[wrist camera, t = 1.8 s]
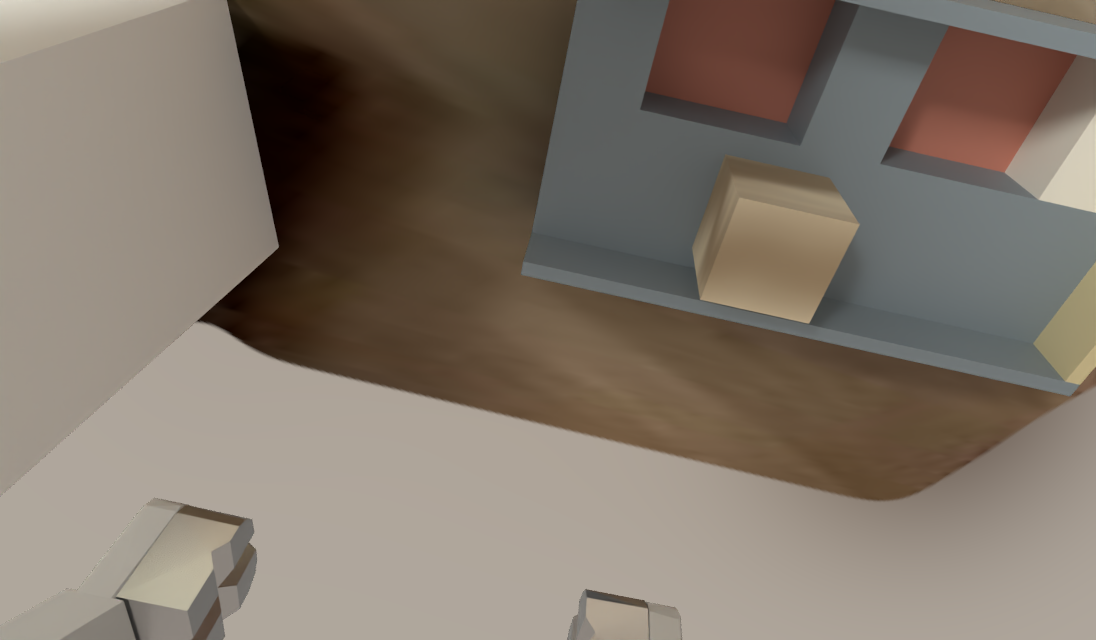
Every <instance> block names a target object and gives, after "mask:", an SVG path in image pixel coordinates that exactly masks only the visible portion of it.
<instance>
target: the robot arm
mask: <svg viewBox="0 0 1096 640" xmlns="http://www.w3.org/2000/svg"><path fill="white" fill-rule="evenodd" d="M253 534H254V528H253V522H252V519H248V518H244V517H239V516H235V515H230V514H225V513H221V512H216V511H212V510H207V509H202V508H197V507H193V506H190V505H187V504H182V503H176V502H172V501H167V500H162V499H158V498H154V499H153V500H151V501H150V502H148V503H147V504H146V505H144V506H143V507H142V508H141V509H140V511H139V512H138V513H137V514H136V516H135V517H134V518H133V519H132V521H131V522H130V523H129V525H128V526H127V527H126V528H125V530H124V531H123V533H122V534H121V535H120V536H119V537H118V539H117V540H116V541H115V542H114V544H113V545H112V546H111V547H110V549H109V550H108V551H107V553H106V554H105V555H104V557H103V558H102V559H101V560H100V561H99V563H98V564H97V565H96V567H95V568H94V569H93V570H92V572H91V573H90V574H89V576H88V577H87V578H86V579H85V581H84V582H83V583H82V584H81V586H80V587H79V588H78V589H77V590H74V589H65V590H63V591H62V592H60V593H58V594H56V595H54V596H53V597H51V598H49V599H47V600H45V601H43V602H42V603H40V604H38V605H36V606H34V607H33V608H31V609H29V610H27V611H25V612H24V613H22V614H20V615H18V616H16V617H14V618H13V619H11V620H9V621H7V622H5V623H4V624H2V625H0V640H223V639H224V637H225V632H224V626H223V620H224V619H225V618H227V617H228V616H230V615H231V614H233V613H234V612H236V611H237V610H239V609H240V607H241V605H242V603H243V601H244V599H245V598H246V596H247V594H248V592H249V589H250V586H251V583H252V581H253V578H254V575H255V571H256V564H257V554H256V549H255V548H254V547H253V546H252V545H251V544H250V543H249V541H250V539H251V538H252V536H253ZM567 640H682V633H681V617H680V614H679V612H678V610H677V609H676V608H675V607H670V606H665V605H659V604H654V603H649V602H645V601H644V600H639V599H633V598H628V597H623V596H618V595H613V594H608V593H602V592H597V591H592V590H587V589H585V590H584V591H583V593H582V596H581V599H580V601H579V612H578V615H576V616H574V617H573V620H572V623H571V626H570V629H569V633H568V638H567Z"/></svg>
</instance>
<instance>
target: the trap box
mask: <svg viewBox="0 0 1096 640" xmlns="http://www.w3.org/2000/svg"><path fill="white" fill-rule="evenodd" d="M725 154H726V155H730V156H735V157H739V158H744V159H748V160H753V161H757V162H761V163H766V164H770V165H775V166H779V167H784V168H788V169H792V170H797V171H801V172H806V173H810V174H815V175H819V176H824V177H828V178H830V179H831V181H832V182H833V184H834V185H835V187H836V188H837V190H838V192H839V193H840V195H841V196H842V198H843V199H844V201H845V202H846V204H847V206H848V207H849V209H850V210H851V212H852V213H853V215H854V216H855V218H856V219H857V221H858V223H859V224H860V225H859V227H858V229H857V231H856V233H855V235H854V237H853V239H852V241H851V243H850V245H849V247H848V249H847V251H846V252H845V254H844V256H843V258H842V260H841V262H840V264H839V266H838V268H837V270H836V272H835V274H834V276H833V278H832V280H831V282H830V284H829V286H828V288H827V290H826V292H825V294H824V296H823V297H822V299H821V301H820V303H819V305H818V307H817V309H816V311H815V313H814V315H813V317H812V319H811V321H810V323H809V324H808V323H803V322H799V321H794V320H790V319H785V318H781V317H776V316H772V315H767V314H763V313H758V312H754V311H749V310H745V309H740V308H735V307H731V306H726V305H722V304H717V303H713V302H708V301H704V300H700V296H699V290H698V283H697V277H696V270H695V264H694V257H693V251H692V246H693V243H694V241H695V238H696V235H697V232H698V229H699V227H700V224H701V221H702V218H703V215H704V213H705V210H706V207H707V204H708V201H709V199H710V196H711V193H712V190H713V187H714V185H715V182H716V179H717V176H718V173H719V171H720V168H721V165H722V162H723V159H724V157H725ZM521 275H524V276H529V277H533V278H538V279H542V280H547V281H551V282H556V283H560V284H565V285H569V286H574V287H578V288H583V289H587V290H592V291H597V292H601V293H606V294H610V295H615V296H619V297H624V298H628V299H633V300H637V301H642V302H646V303H651V304H655V305H660V306H664V307H669V308H673V309H678V310H682V311H687V312H691V313H696V314H701V315H705V316H710V317H714V318H719V319H723V320H728V321H732V322H737V323H741V324H746V325H750V326H755V327H759V328H764V329H768V330H773V331H777V332H782V333H786V334H791V335H795V336H800V337H805V338H809V339H814V340H818V341H823V342H827V343H832V344H836V345H841V346H845V347H850V348H854V349H859V350H863V351H868V352H872V353H877V354H881V355H886V356H890V357H895V358H899V359H904V360H909V361H913V362H918V363H922V364H927V365H931V366H936V367H940V368H945V369H949V370H954V371H958V372H963V373H967V374H972V375H976V376H981V377H985V378H990V379H994V380H999V381H1003V382H1008V383H1013V384H1017V385H1022V386H1026V387H1031V388H1035V389H1040V390H1044V391H1049V392H1053V393H1058V394H1062V395H1067V396H1071V395H1072V394H1073V393H1074V391H1075V390H1076V389H1077V388H1078V387H1079V385H1080V384H1081V383H1082V382H1083V381H1084V380H1085V378H1086V377H1087V376H1088V375H1089V374H1090V373H1091V371H1092V370H1093V369H1094V368H1095V367H1096V24H1092V23H1087V22H1083V21H1079V20H1074V19H1070V18H1066V17H1061V16H1057V15H1053V14H1048V13H1044V12H1040V11H1035V10H1031V9H1027V8H1022V7H1018V6H1014V5H1009V4H1005V3H1001V2H996V1H992V0H577V4H576V9H575V14H574V20H573V25H572V30H571V35H570V40H569V45H568V50H567V55H566V60H565V65H564V71H563V76H562V81H561V86H560V91H559V96H558V101H557V106H556V111H555V116H554V122H553V127H552V132H551V137H550V142H549V147H548V152H547V157H546V162H545V167H544V173H543V178H542V183H541V188H540V193H539V198H538V203H537V208H536V213H535V218H534V224H533V229H532V233H531V237H530V240H529V244H528V247H527V251H526V254H525V257H524V261H523V266H522V271H521Z"/></svg>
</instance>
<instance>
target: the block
mask: <svg viewBox="0 0 1096 640" xmlns="http://www.w3.org/2000/svg"><path fill="white" fill-rule="evenodd" d="M859 225H860V224H859V223H858V221H857V219H856V218H855V216H854V215H853V213H852V212H851V210H850V209H849V207H848V206H847V204H846V202H845V201H844V199H843V198H842V196H841V195H840V193H839V192H838V190H837V188H836V187H835V185H834V184H833V182H832V181H831V179H830V178H828V177H824V176H819V175H815V174H810V173H806V172H801V171H797V170H792V169H788V168H784V167H779V166H775V165H770V164H766V163H761V162H757V161H753V160H748V159H744V158H739V157H735V156H730V155H726V154H725V157H724V159H723V162H722V165H721V168H720V171H719V173H718V176H717V179H716V182H715V185H714V187H713V190H712V193H711V196H710V199H709V201H708V204H707V207H706V210H705V213H704V215H703V218H702V221H701V224H700V227H699V229H698V232H697V235H696V238H695V241H694V243H693V246H692V251H693V257H694V264H695V270H696V277H697V283H698V290H699V296H700V300H704V301H708V302H713V303H717V304H722V305H726V306H731V307H735V308H740V309H745V310H749V311H754V312H758V313H763V314H767V315H772V316H776V317H781V318H785V319H790V320H794V321H799V322H803V323H808V324H809V323H810V321H811V319H812V317H813V315H814V313H815V311H816V309H817V307H818V305H819V303H820V301H821V299H822V297H823V296H824V294H825V292H826V290H827V288H828V286H829V284H830V282H831V280H832V278H833V276H834V274H835V272H836V270H837V268H838V266H839V264H840V262H841V260H842V258H843V256H844V254H845V252H846V251H847V249H848V247H849V245H850V243H851V241H852V239H853V237H854V235H855V233H856V231H857V229H858V227H859Z"/></svg>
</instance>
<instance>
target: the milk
mask: <svg viewBox="0 0 1096 640" xmlns="http://www.w3.org/2000/svg"><path fill="white" fill-rule="evenodd" d="M278 248H279V245H278V240H277V235H276V231H275V226H274V221H273V217H272V212H271V207H270V202H269V198H268V193H267V188H266V183H265V179H264V174H263V169H262V164H261V160H260V155H259V150H258V146H257V141H256V136H255V131H254V127H253V122H252V117H251V112H250V108H249V103H248V98H247V93H246V89H245V84H244V79H243V75H242V70H241V65H240V60H239V56H238V51H237V46H236V41H235V37H234V32H233V27H232V22H231V18H230V13H229V8H228V4H227V0H0V496H1V495H3V493H5V492H6V491H7V490H8V489H9V488H10V487H11V486H12V485H14V484H15V483H16V482H17V481H18V480H19V479H20V478H21V477H23V476H24V475H25V474H26V473H27V472H28V471H29V470H31V469H32V468H33V467H34V466H35V465H36V464H37V463H38V462H39V461H40V460H41V459H43V458H44V457H45V456H46V455H47V454H48V453H50V451H52V450H53V449H54V448H55V447H56V446H57V445H58V444H60V443H61V442H62V441H63V440H64V439H65V438H66V437H67V436H69V435H70V434H71V433H72V432H73V431H74V430H75V429H76V428H78V427H79V426H80V424H82V423H83V422H84V421H85V420H86V419H88V418H89V417H90V416H91V415H92V414H93V413H94V412H95V411H97V410H98V409H99V408H100V407H101V406H102V405H103V404H104V403H105V402H107V401H108V400H109V399H110V398H111V397H112V396H113V395H114V394H116V393H117V392H118V391H119V390H120V389H121V388H122V387H123V386H124V385H126V384H127V383H128V382H129V381H130V380H131V379H132V378H133V377H135V376H136V375H137V374H138V373H139V372H140V371H141V370H142V369H143V368H145V367H146V366H147V365H148V364H149V363H150V362H151V361H152V360H153V359H155V358H156V357H157V356H158V355H159V354H160V353H161V352H162V351H164V350H165V349H166V348H167V347H168V346H169V345H170V344H171V343H173V342H174V341H175V340H176V339H177V338H178V337H179V336H180V335H182V334H183V333H184V332H185V331H186V330H187V329H188V328H189V327H191V326H192V325H193V324H194V323H195V322H196V321H197V320H198V319H199V318H201V317H202V316H203V315H204V314H205V313H206V312H207V311H208V310H210V309H211V308H212V307H213V306H214V305H215V304H216V303H217V302H218V301H220V300H221V299H222V298H223V297H224V296H225V295H226V294H227V293H229V292H230V291H231V290H232V289H233V288H234V287H235V286H236V285H238V284H239V283H240V282H241V281H242V280H243V279H244V278H245V277H246V276H248V275H249V274H250V273H251V272H252V271H253V270H254V269H255V268H257V267H258V266H259V265H260V264H261V263H262V262H263V261H264V260H265V259H267V258H268V257H269V256H270V255H271V254H272V253H273V252H274V251H276V250H277V249H278Z"/></svg>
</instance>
